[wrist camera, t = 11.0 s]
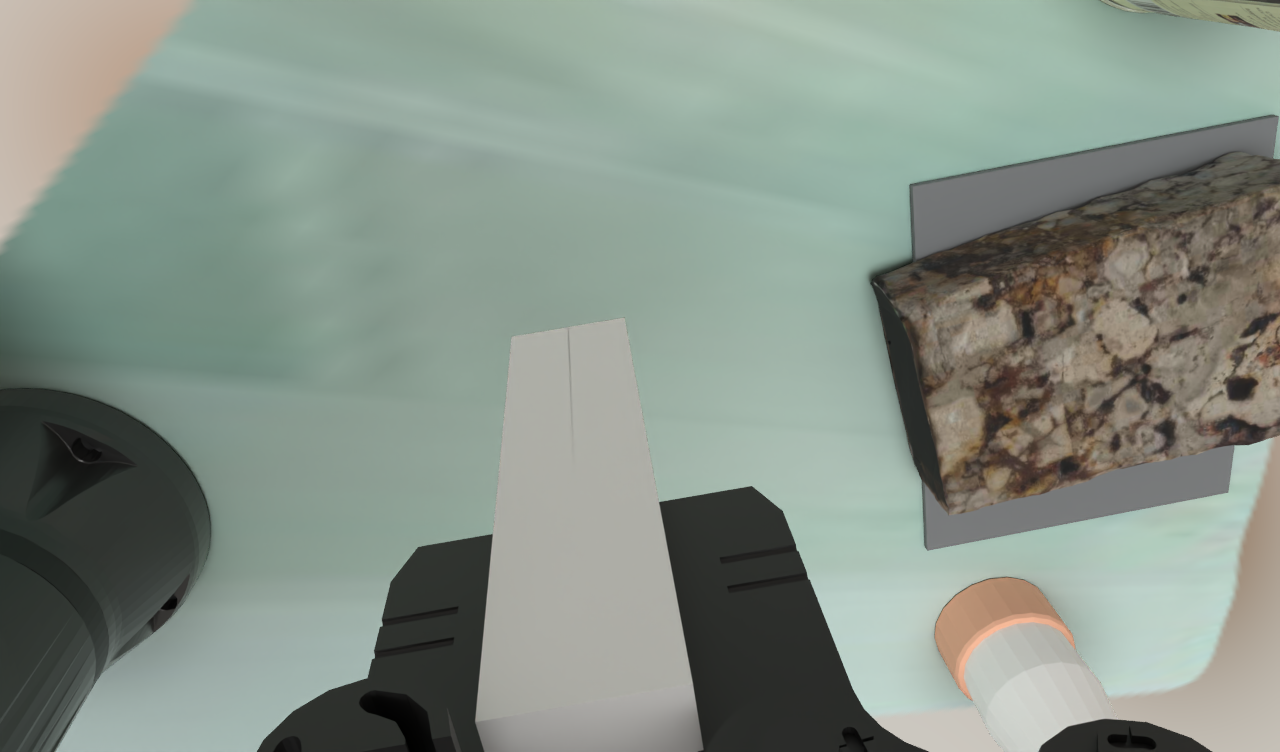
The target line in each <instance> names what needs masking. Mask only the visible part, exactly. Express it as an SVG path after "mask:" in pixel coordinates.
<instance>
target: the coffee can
mask: <svg viewBox="0 0 1280 752" xmlns="http://www.w3.org/2000/svg"><path fill="white" fill-rule="evenodd" d="M1100 1H1102V2H1104V3H1106V4H1108V5H1110V6H1113V7H1115V8H1118V9H1121V10H1125V11H1130V12H1137V13H1158V14H1164V15H1171V16H1178V17H1185V18H1191V19H1200V20H1207V21H1214V22H1221V23H1228V24H1235V25H1242V26H1249V27H1255V28H1262V29H1268V30H1274V31H1280V0H1100Z"/></svg>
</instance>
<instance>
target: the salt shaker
mask: <svg viewBox="0 0 1280 752" xmlns="http://www.w3.org/2000/svg"><path fill="white" fill-rule="evenodd" d="M935 640H936V643H937V647H938V650H939V652H940V654H941V655H942V657H943V659H944V661H945V663H946V665H947V667H948V669H949V670H950V672H951V674H952V676H953V678H954V680H955V682H956V684H957V685H958V687H959V689H960V690H961V691H962V692H963V693H964V694H965V695H966V696H967V698H969V699H970V700H972V701H973V702H974V704H975V706H976V708H977V710H978V711H979V713H980V715H981V718H982V720H983V722H984V724H985V726H986V728H987V730H988V731H989V734H990V735H991V736H992V737H993V739H994V740H995V741H996V742H997V744H998V745H999V746H1000V747H1001V749H1002V750H1003V751H1004V752H1038V751H1039V749H1040V747H1041V745H1042V744H1044V743H1045V742H1046V741H1048V740H1049V739H1051V738H1052V737H1054V736H1055V735H1056V734H1058V733H1059V732H1061V731H1062V730H1063V729H1065V728H1066V727H1068V726H1072V725H1077V724H1081V723H1086V722H1091V721H1095V720H1100V719H1115V720H1118V718H1117V716H1116V714H1115V711H1114V709H1113V707H1112V705H1111V703H1110V701H1109V699H1108V697H1107V695H1106V693H1105V691H1104V689H1103V687H1102V685H1101V682H1100V681H1099V680H1098V679H1097V677H1096V676H1095V675H1094V673H1093V672H1092V671H1091V669H1090V668H1089V667H1088V666H1087V664H1086V663H1085V662H1084V660H1083V659H1082V658H1081V657H1080V655H1079V654H1078V653H1077V651H1076V650H1075V644H1074V639H1073V635H1072V633H1071V632H1070V630H1069V629H1068V628H1067V626H1066V625H1065V624H1064V622H1063V621H1062V620H1061V618H1060V617H1059V615H1058V614H1057V613H1056V611H1055V610H1054V609H1053V607H1052V606H1051V604H1050V603H1049V602H1048V600H1047V599H1046V598H1045V596H1044V595H1043V594H1042V593H1041V591H1040V590H1039V589H1038V588H1037V587H1036V586H1034V585H1032V584H1030V583H1028V582H1027V581H1025V580H1020V579H1015V578H1009V577H1006V578H995V579H988V580H985V581H983V582H980V583H977V584H974V585H971V586H970V587H968V588H967V589H965V590H963V591H962V592H960V593H959V594H957V595H956V596H955V597H954V598H953V599H952V600H951V601H950V602H949V603H948V604H947V605H946V606H945V607H944V608H943V610H942V612H941V614H940V616H939V618H938V620H937V622H936V629H935Z"/></svg>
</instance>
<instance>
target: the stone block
mask: <svg viewBox="0 0 1280 752" xmlns="http://www.w3.org/2000/svg"><path fill="white" fill-rule="evenodd" d="M871 285H872V286H873V289H874V292H875V294H876V297H877V300H878V303H879V308H880V315H881V319H882V323H883V328H884V335H885V338H886V342H887V347H888V352H889V357H890V362H891V367H892V372H893V377H894V381H895V386H896V390H897V394H898V399H899V403H900V407H901V411H902V415H903V420H904V424H905V428H906V432H907V437H908V442H909V447H910V451H911V454H912V456H913V460H914V463H915V465H916V467H917V470H918V472H919V475H920V477H921V479H922V481H923V482H924V483H925V484H926V486H927V487H928V489H929V490H930V491H931V493H932V494H933V495H934V497H935V499H936V500H937V502H938V503H939V504H940V506H941V507H942V508H943V509H944V510H945V511H946V512H947V514H948V515H953V514H962V513H967V512H971V511H976V510H978V509H980V508H983V507H986V506H991V505H995V504H998V503H1002V502H1006V501H1010V500H1014V499H1018V498H1024V497H1029V496H1033V495H1041V494H1045V493H1047V492H1050V491H1052V490H1056V489H1061V488H1065V487H1070V486H1074V485H1076V484H1080V483H1084V482H1087V481H1089V480H1091V479H1093V478H1095V477H1096V476H1099V475H1102V474H1106V473H1108V472H1111V471H1113V470H1116V469H1124V468H1129V467H1133V466H1136V465H1140V464H1145V463H1153V462H1160V461H1164V460H1172V459H1175V458H1178V457H1181V456H1189V455H1197V454H1200V453H1202V452H1205V451H1208V450H1210V449H1214V448H1219V447H1224V446H1231V445H1250V444H1254V443H1257V442H1261V441H1263V440H1266V439H1269V438H1273V437H1277V436H1279V435H1280V159H1273V158H1269V157H1265V156H1260V155H1253V156H1252V155H1249V154H1246V153H1243V152H1234V153H1228V154H1226V155H1224V156H1222V157H1219V158H1217V159H1216V160H1214V161H1213V162H1211V163H1209V164H1207V165H1204V166H1202V167H1201V168H1199V169H1197V170H1194V171H1191V172H1188V173H1184V174H1179V175H1174V176H1169V177H1165V178H1161V179H1156V180H1150V181H1148V182H1146V183H1144V184H1142V185H1140V186H1139V187H1137V188H1135V189H1132V190H1129V191H1125V192H1121V193H1118V194H1114V195H1109V196H1105V197H1100V198H1097V199H1094V200H1092V201H1091V202H1089V203H1088V204H1087V205H1085V206H1083V207H1081V208H1077V209H1073V210H1066V211H1060V212H1056V213H1053V214H1051V215H1048V216H1045V217H1043V218H1041V219H1039V220H1036V221H1032V222H1028V223H1024V224H1021V225H1018V226H1015V227H1011V228H1009V229H1006V230H1003V231H999V232H996V233H992V234H989V235H985V236H983V237H981V238H980V239H978V240H975V241H972V242H969V243H966V244H964V245H961V246H958V247H956V248H953V249H951V250H949V251H942V252H939V253H936V254H933V255H930V256H928V257H926V258H924V259H921V260H919V261H916V262H914V263H911V264H908V265H906V266H903V267H901V268H898V269H896V270H894V271H891V272H888V273H885V274H883V275H879V276H876V277H875V278H874V279H873V280H872V282H871Z"/></svg>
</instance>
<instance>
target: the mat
mask: <svg viewBox="0 0 1280 752" xmlns="http://www.w3.org/2000/svg"><path fill="white" fill-rule="evenodd" d="M1278 117H1279V116H1275V115H1269V116H1264V117H1259V118H1254V119H1249V120H1243V121H1238V122H1233V123H1228V124H1223V125H1217V126H1212V127H1207V128H1202V129H1197V130H1192V131H1186V132H1181V133H1176V134H1171V135H1166V136H1160V137H1155V138H1150V139H1145V140H1140V141H1134V142H1129V143H1124V144H1119V145H1114V146H1108V147H1103V148H1098V149H1093V150H1088V151H1082V152H1077V153H1072V154H1067V155H1062V156H1056V157H1051V158H1046V159H1041V160H1036V161H1030V162H1025V163H1020V164H1015V165H1010V166H1004V167H999V168H994V169H989V170H984V171H978V172H973V173H968V174H963V175H958V176H952V177H947V178H942V179H937V180H932V181H927V182H921V183H916V184H911V185H910V202H911V226H912V250H913V263H914V262H916V261H919V260H921V259H924V258H926V257H928V256H930V255H933V254H936V253H939V252H942V251H949V250H951V249H953V248H956V247H958V246H961V245H964V244H966V243H969V242H972V241H975V240H978V239H980V238H981V237H983V236H985V235H989V234H992V233H996V232H999V231H1003V230H1006V229H1009V228H1011V227H1015V226H1018V225H1021V224H1024V223H1028V222H1032V221H1036V220H1039V219H1041V218H1043V217H1045V216H1048V215H1051V214H1053V213H1056V212H1060V211H1066V210H1073V209H1077V208H1081V207H1083V206H1085V205H1087V204H1088V203H1089V202H1091V201H1092V200H1094V199H1097V198H1100V197H1105V196H1109V195H1114V194H1118V193H1121V192H1125V191H1129V190H1132V189H1135V188H1137V187H1139V186H1140V185H1142V184H1144V183H1146V182H1148V181H1150V180H1156V179H1161V178H1165V177H1169V176H1174V175H1179V174H1184V173H1188V172H1191V171H1194V170H1197V169H1199V168H1201V167H1202V166H1204V165H1207V164H1209V163H1211V162H1213V161H1214V160H1216V159H1217V158H1219V157H1222V156H1224V155H1226V154H1228V153H1234V152H1243V153H1246V154H1249V155H1252V156H1253V155H1260V156H1265V157H1269V158H1273V155H1274V147H1275V140H1276V132H1277V125H1278ZM1233 453H1234V445H1231V446H1224V447H1219V448H1214V449H1210V450H1208V451H1205V452H1202V453H1200V454H1197V455H1189V456H1181V457H1178V458H1175V459H1172V460H1164V461H1160V462H1153V463H1145V464H1140V465H1136V466H1133V467H1129V468H1124V469H1116V470H1113V471H1111V472H1108V473H1106V474H1102V475H1099V476H1096V477H1095V478H1093V479H1091V480H1089V481H1087V482H1084V483H1080V484H1076V485H1074V486H1070V487H1065V488H1061V489H1056V490H1052V491H1050V492H1047V493H1045V494H1041V495H1033V496H1029V497H1024V498H1018V499H1014V500H1010V501H1006V502H1002V503H998V504H995V505H991V506H986V507H983V508H980V509H978V510H976V511H971V512H967V513H962V514H953V515H948V514H947V512H946V511H945V510H944V509H943V508H942V507H941V506H940V504H939V503H938V502H937V500H936V499H935V497H934V495H933V494H932V493H931V491H930V490H929V489H928V487H927V486H926V484H925V483H924V482H923V481H922V489H923V513H924V537H925V548H926V549H927V551H928V550H933V549H938V548H943V547H948V546H954V545H959V544H964V543H969V542H974V541H979V540H985V539H990V538H995V537H1000V536H1005V535H1011V534H1016V533H1021V532H1026V531H1031V530H1036V529H1042V528H1047V527H1052V526H1057V525H1062V524H1067V523H1073V522H1078V521H1083V520H1088V519H1093V518H1098V517H1104V516H1109V515H1114V514H1119V513H1124V512H1129V511H1135V510H1140V509H1145V508H1150V507H1155V506H1161V505H1166V504H1171V503H1176V502H1181V501H1186V500H1192V499H1197V498H1202V497H1207V496H1212V495H1217V494H1223V493H1228V490H1229V482H1230V475H1231V468H1232V460H1233Z"/></svg>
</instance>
